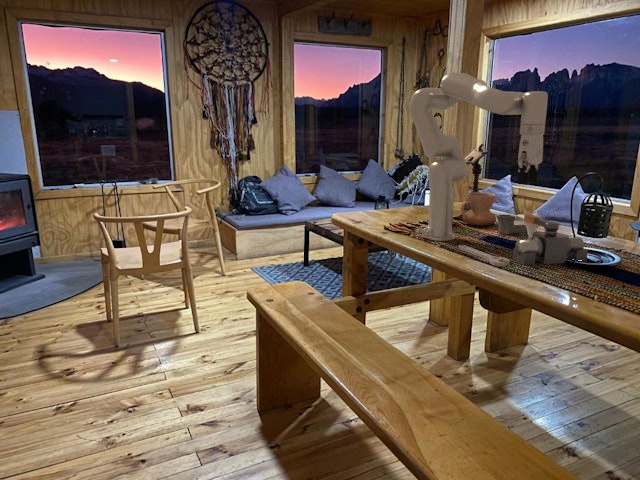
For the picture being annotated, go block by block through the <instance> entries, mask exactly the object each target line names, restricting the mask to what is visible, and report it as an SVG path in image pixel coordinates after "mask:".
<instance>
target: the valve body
mask: <svg viewBox="0 0 640 480" xmlns="http://www.w3.org/2000/svg"><path fill="white" fill-rule="evenodd" d="M544 230H545V231H540V232H539V231H538V232H536V231H535V232H534V233H533V236H532V237H531V238H530V240H529V239H521V240H520V239H519V240H517V241H516V242H515V245H514V246H515V247H513V250H512V251H513V252H512V260H514V261H515V262H517V263H519V264H521V265H523V266H528V265H530V266H531V265H536V262H538V263H540V264H543V265H554V264H555V265H556V264H566V263H565V261H566V262H567V259H568V258H570V259H574V260H582V261H583V262H587V261H588V254H589V249H588V248H584V246H585V244H584V241H583V239H582V238H581V237H579V236H577V237H570V236H567V235H566V234H565V235H564V234H561V233H559V232H558V230H555V231H553V230H546V229H544ZM567 257H568V258H567ZM570 259H569V260H570Z"/></svg>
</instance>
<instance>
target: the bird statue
mask: <svg viewBox="0 0 640 480" xmlns="http://www.w3.org/2000/svg"><path fill="white" fill-rule="evenodd" d="M484 145H485V144H484V143H480V144H479V146H478V148H477V149H473V150H472V151H471V152H470V153H469V154H468V155H467V156H466V157H464V158H465V161H466V164H467V166H469V165H470V164H471V167H472V168H471V170H472V172H471V174H472V175H473V182H472V184H473V186H472V187H473V188H472V190H471V191H470V193H476V192H480V191H479V188H478V187H479V184H480V182H479V180H480V179H479V176H480V175H481V174H482V170H483V168H482V165H481V163H480V160H481V159H482V158H483V157H484V156H485V155H487V154H488V153H489V150H486V149H485V150H484V148H483V147H484ZM466 201H468V200H467V199H466ZM470 210H471V209H470V206H469V205H468V204H465V206H464V212H465V213H467V212H468V211H470Z"/></svg>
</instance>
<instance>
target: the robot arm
mask: <svg viewBox="0 0 640 480" xmlns="http://www.w3.org/2000/svg"><path fill="white" fill-rule="evenodd" d="M439 84H440V88H439V87H438V88H437V87H423V88H420V89H418V90H416V91H415V92H414V93H413V95H412V96H411V99H410V101H409V114H410V117H411V119H412V122H413V125H414V126H415V128H416V129H415V130H416V131H417V134H418V137H419V138H418V139H419V141H420V144H421V146H422V150H423V152H424V154H425V156H426V157H428V158H430V159H438V158H441V159H438V160H435V161H433V162H432V163H431V164H430V165H429V167H428V170H427V177H428V178H427V179H428V183H429V184H428V185H429V198H428V200H429V203H428V219H427V220H428V222H427V223H428V224H427V225H425V227H423V228H416V230H415V231H416V232H415V233H416V234H422V235H423V238H425V239H427V240H430V241H437V242H439V241H440V242H443V241H446V242H448V241H453V240H454V239H456V237H457V236H456V234H455V233H453V217H454V204H455V203H454V201H455V192H454V187H453V184H452V183H457V182H460V181H462V180H463V179H465V178H466V176H467V174H468V165H467V164H466V161H465V158H466V157H464V153H463V150H462V147H461V145H460V142H459V140H458V139H457V138H456V136H454V135H453V134H451V133H448V132H447V133H445V132H444V133H443V132H442V131H441V129H440V125H439V123H438V121H437V119H436V117H435V116H434V115H433V114H432V111H444V110H447V109H449V108H451V107H452V106H454V105H455V104H458V103H459V102H461V101H463V102H466V103H469V104H472V105H474V106H476V107H477V108H480V109H481V110H484V111H487V112H491V113H493V114H497V115H501V116H509V115H510V116H512V115H513V116H514V115H520V116H521V117H520V127H519V135H521V136H520V141H519V148H518V156H517V157H518V158H517V159H518V160H517V164H518V170H517V171H518V173H517V174H518V175H517V185H524V186H526V185H528V183H529V182H531V183H537V182H538V181H537V180H538V171H539V165H540V164H541V163H543V156H544V155H543V154H544V135H545V128H546V119H547V110H548V100H549V99H548V97H549V95H548V92H546V91H541V90H537V91H527V92H521V91H505V90H500V89H497V88H494V87H491V86H488V85H487V82H486V81H485V80H482V79H479V78H476V77H473V76H472V75H470V74H469V73H465V72H454V71H453V72H449V73H447V74H445V75H444V76H443V77H442V78H441V81H440V83H439Z"/></svg>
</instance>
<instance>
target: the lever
mask: <svg viewBox="0 0 640 480" xmlns="http://www.w3.org/2000/svg"><path fill="white" fill-rule="evenodd" d="M524 215H525V216H524V221H526V222H529V223H532V224H537V225H540V227H542V228H544V230H545V229H546V230H553V231H555V230H557V231H559V228H560V223H558V222H555V221H550V220H549V221H548V220H546V219H543V218H542V217H541V216H540V217H541V218H542V219H541V218H540V217H538V216H535V215H533V214H531V213H530V214H524Z"/></svg>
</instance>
